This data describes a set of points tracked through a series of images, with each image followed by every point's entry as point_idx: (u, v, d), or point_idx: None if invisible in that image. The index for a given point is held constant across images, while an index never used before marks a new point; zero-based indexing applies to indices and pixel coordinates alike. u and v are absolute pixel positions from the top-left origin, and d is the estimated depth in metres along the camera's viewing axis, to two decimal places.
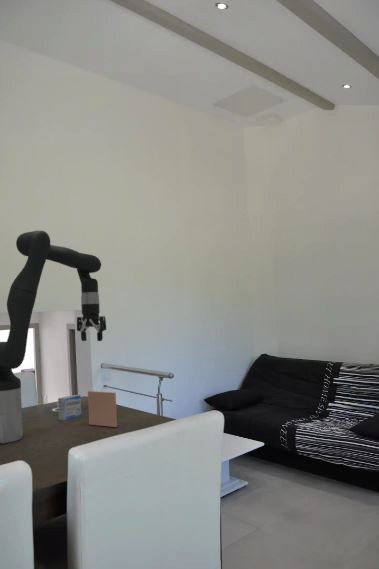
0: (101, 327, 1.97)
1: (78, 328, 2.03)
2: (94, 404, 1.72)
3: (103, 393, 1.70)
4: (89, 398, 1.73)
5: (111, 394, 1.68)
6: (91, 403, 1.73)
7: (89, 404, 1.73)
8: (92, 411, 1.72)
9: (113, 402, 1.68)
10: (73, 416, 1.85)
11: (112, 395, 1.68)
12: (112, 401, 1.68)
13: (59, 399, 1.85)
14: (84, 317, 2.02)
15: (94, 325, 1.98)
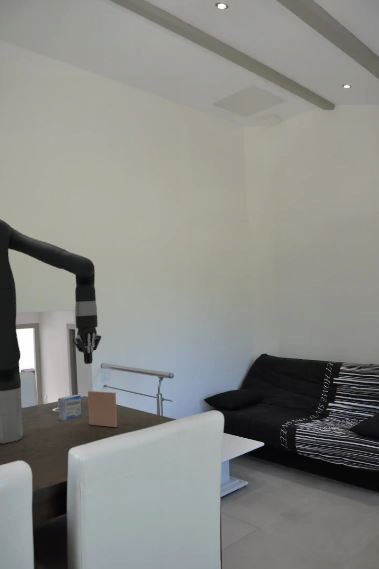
0: (95, 346, 1.68)
1: (84, 348, 1.63)
2: (94, 404, 1.72)
3: (103, 393, 1.70)
4: (89, 398, 1.73)
5: (111, 394, 1.68)
6: (91, 403, 1.73)
7: (89, 404, 1.73)
8: (92, 411, 1.72)
9: (113, 402, 1.68)
10: (73, 416, 1.85)
11: (112, 395, 1.68)
12: (112, 401, 1.68)
13: (59, 399, 1.85)
14: (83, 331, 1.63)
15: (93, 343, 1.66)
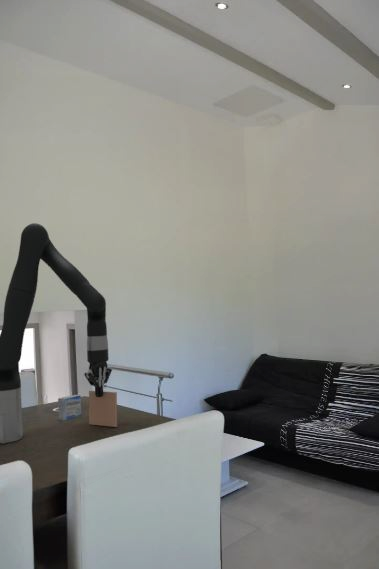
0: (106, 379, 1.72)
1: (96, 382, 1.67)
2: (95, 404, 1.72)
3: (104, 393, 1.70)
4: (90, 398, 1.73)
5: (112, 394, 1.69)
6: (92, 403, 1.73)
7: (90, 404, 1.73)
8: (92, 411, 1.73)
9: (114, 402, 1.68)
10: (73, 416, 1.85)
11: (113, 395, 1.68)
12: (113, 401, 1.68)
13: (59, 399, 1.85)
14: (94, 366, 1.67)
15: (104, 376, 1.70)
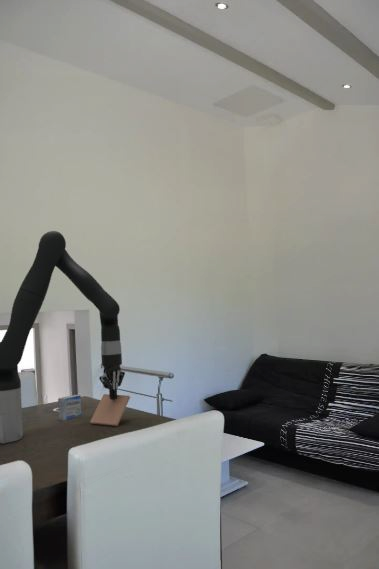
0: (119, 382, 1.78)
1: (110, 385, 1.74)
2: (104, 404, 1.77)
3: (118, 395, 1.77)
4: (102, 399, 1.79)
5: (126, 396, 1.76)
6: (102, 403, 1.78)
7: (99, 404, 1.78)
8: (99, 410, 1.76)
9: (124, 403, 1.73)
10: (73, 416, 1.85)
11: (126, 397, 1.75)
12: (124, 402, 1.74)
13: (59, 399, 1.85)
14: (109, 369, 1.74)
15: (118, 379, 1.77)
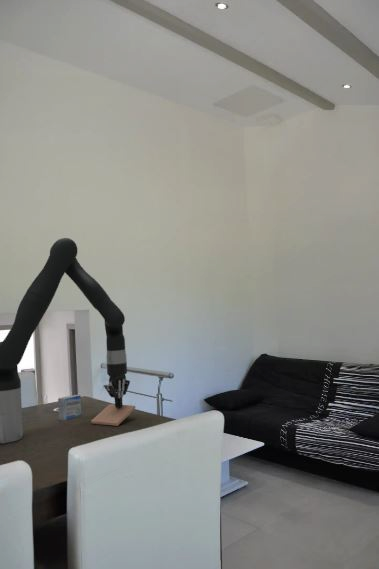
0: (124, 391, 1.81)
1: (116, 394, 1.76)
2: (108, 410, 1.79)
3: (124, 405, 1.80)
4: (107, 407, 1.82)
5: (131, 406, 1.78)
6: (106, 410, 1.80)
7: (103, 410, 1.80)
8: (102, 414, 1.77)
9: (129, 410, 1.76)
10: (73, 416, 1.85)
11: (132, 406, 1.78)
12: (129, 409, 1.76)
13: (59, 399, 1.85)
14: (114, 378, 1.76)
15: (123, 388, 1.79)
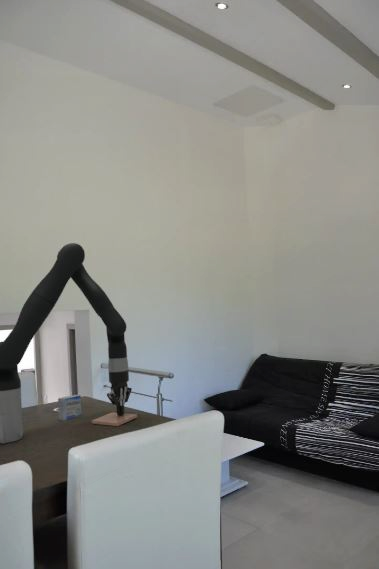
0: (126, 398, 1.82)
1: (117, 402, 1.77)
2: (110, 416, 1.79)
3: None
4: (109, 414, 1.82)
5: (133, 414, 1.79)
6: (107, 415, 1.80)
7: (105, 415, 1.80)
8: (103, 417, 1.78)
9: (131, 416, 1.76)
10: (73, 416, 1.85)
11: (134, 415, 1.78)
12: (130, 416, 1.77)
13: (59, 399, 1.85)
14: (116, 386, 1.77)
15: (125, 396, 1.80)
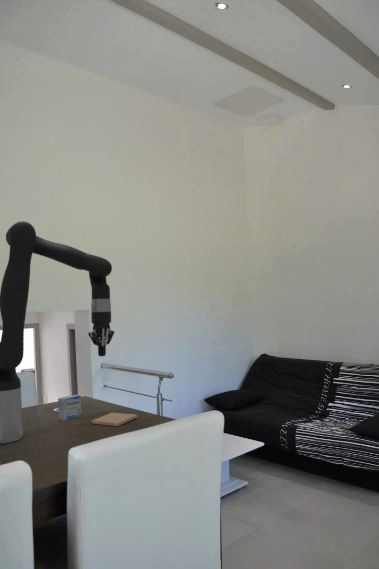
0: (108, 340, 1.83)
1: (99, 342, 1.78)
2: (110, 416, 1.79)
3: (126, 414, 1.81)
4: (109, 414, 1.82)
5: (133, 414, 1.79)
6: (107, 415, 1.80)
7: (105, 415, 1.80)
8: (103, 417, 1.78)
9: (131, 417, 1.76)
10: (73, 416, 1.85)
11: (134, 415, 1.78)
12: (130, 416, 1.77)
13: (59, 399, 1.85)
14: (98, 326, 1.78)
15: (107, 337, 1.81)
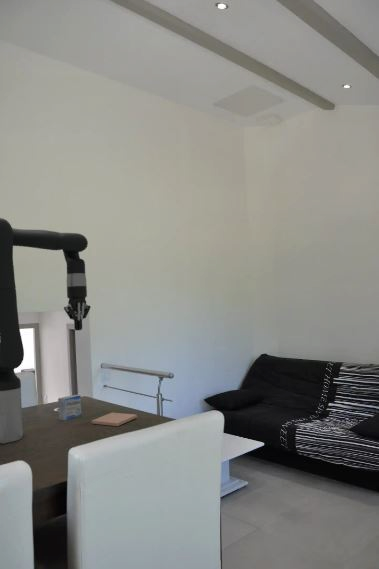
0: (84, 315, 1.85)
1: (75, 316, 1.80)
2: (110, 416, 1.79)
3: (126, 414, 1.81)
4: (109, 414, 1.82)
5: (133, 414, 1.79)
6: (107, 415, 1.80)
7: (105, 415, 1.80)
8: (103, 417, 1.78)
9: (131, 417, 1.76)
10: (73, 416, 1.85)
11: (134, 415, 1.78)
12: (130, 416, 1.77)
13: (59, 399, 1.85)
14: (73, 300, 1.80)
15: (83, 311, 1.83)
